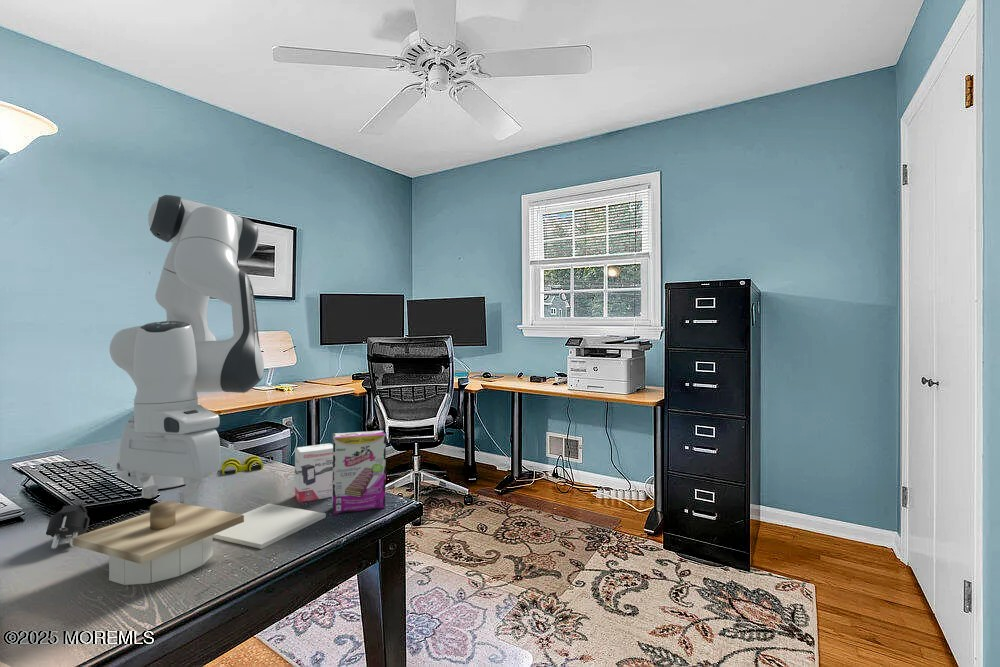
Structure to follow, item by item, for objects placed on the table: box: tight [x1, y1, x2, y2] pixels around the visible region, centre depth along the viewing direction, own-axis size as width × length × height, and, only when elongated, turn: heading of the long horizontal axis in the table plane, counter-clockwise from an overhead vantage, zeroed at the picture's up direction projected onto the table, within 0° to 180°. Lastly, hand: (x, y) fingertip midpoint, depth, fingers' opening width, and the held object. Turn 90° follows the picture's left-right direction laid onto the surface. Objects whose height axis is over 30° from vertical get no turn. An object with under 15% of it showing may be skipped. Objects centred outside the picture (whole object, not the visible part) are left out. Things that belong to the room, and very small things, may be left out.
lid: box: [72, 500, 244, 564], centre depth 81 cm, size 17×17×5 cm
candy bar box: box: [331, 430, 387, 515], centre depth 106 cm, size 11×5×16 cm, turn 110°
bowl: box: [108, 535, 214, 586], centre depth 81 cm, size 14×14×5 cm
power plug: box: [45, 503, 90, 550], centre depth 90 cm, size 6×8×12 cm
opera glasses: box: [220, 455, 264, 475], centre depth 131 cm, size 10×5×5 cm, turn 123°
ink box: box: [294, 443, 333, 504], centre depth 113 cm, size 8×5×12 cm, turn 123°
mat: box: [213, 503, 327, 550], centre depth 97 cm, size 16×16×1 cm
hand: (168, 500), depth 81 cm, fingers open, 8 cm apart
